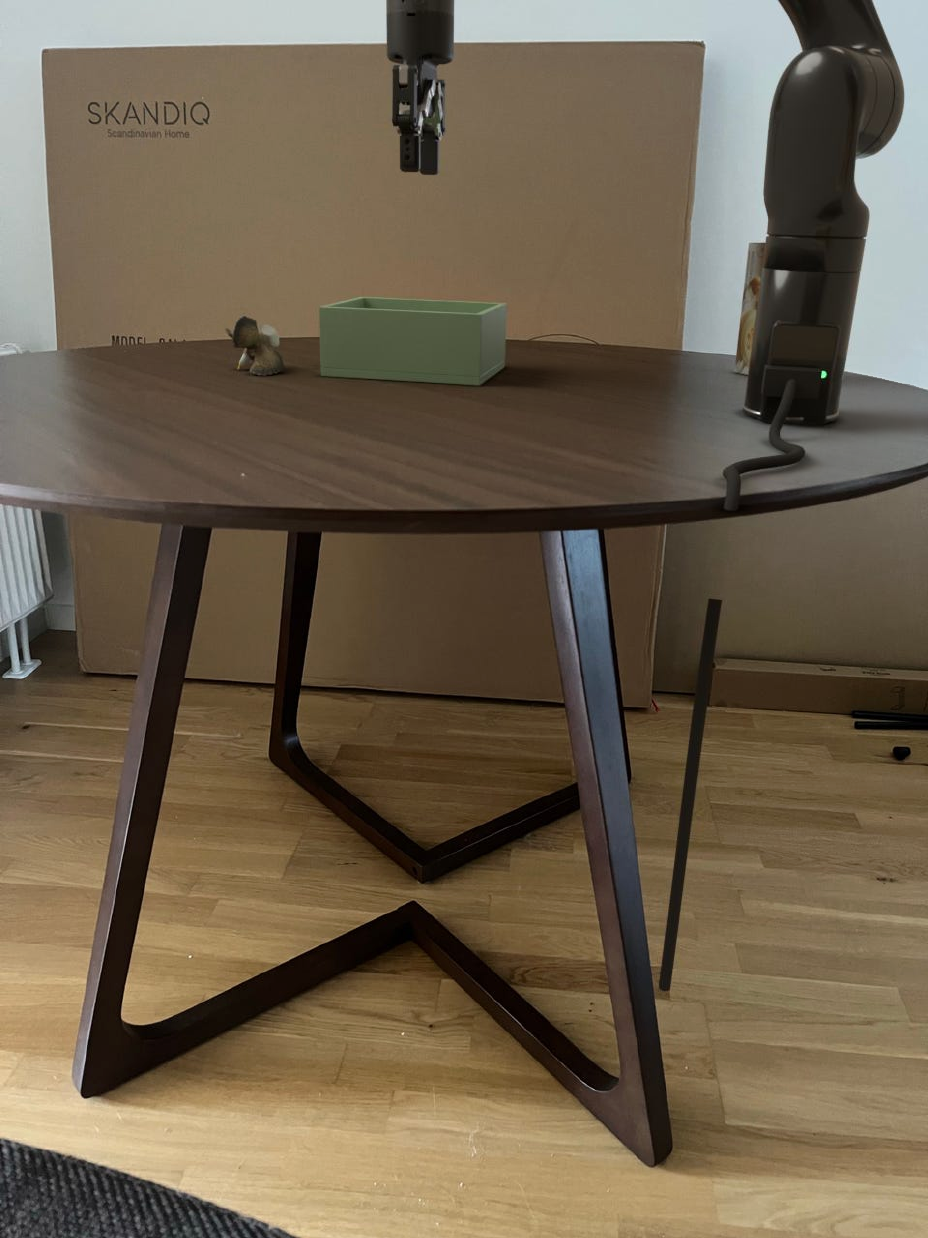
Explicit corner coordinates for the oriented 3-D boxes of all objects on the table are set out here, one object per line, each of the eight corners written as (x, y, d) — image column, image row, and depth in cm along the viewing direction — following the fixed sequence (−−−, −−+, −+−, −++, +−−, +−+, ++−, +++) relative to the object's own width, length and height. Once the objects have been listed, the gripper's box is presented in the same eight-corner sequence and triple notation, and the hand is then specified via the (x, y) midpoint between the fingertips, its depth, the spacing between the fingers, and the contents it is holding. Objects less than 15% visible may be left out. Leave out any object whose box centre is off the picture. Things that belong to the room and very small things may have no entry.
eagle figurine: (209, 356, 124) (218, 351, 116) (236, 306, 125) (247, 298, 116) (263, 388, 128) (275, 386, 119) (289, 339, 128) (304, 334, 119)
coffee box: (818, 380, 125) (839, 244, 119) (778, 383, 122) (798, 243, 116) (769, 370, 133) (786, 241, 126) (730, 372, 130) (746, 241, 124)
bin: (479, 385, 116) (481, 314, 113) (320, 376, 119) (318, 306, 116) (504, 367, 130) (507, 303, 127) (361, 359, 134) (360, 296, 130)
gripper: (405, 24, 117) (405, 175, 123) (368, 0, 104) (370, 170, 110) (467, 23, 115) (464, 176, 122) (437, -1, 103) (436, 171, 109)
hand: (420, 173), depth 116 cm, fingers open, 8 cm apart
